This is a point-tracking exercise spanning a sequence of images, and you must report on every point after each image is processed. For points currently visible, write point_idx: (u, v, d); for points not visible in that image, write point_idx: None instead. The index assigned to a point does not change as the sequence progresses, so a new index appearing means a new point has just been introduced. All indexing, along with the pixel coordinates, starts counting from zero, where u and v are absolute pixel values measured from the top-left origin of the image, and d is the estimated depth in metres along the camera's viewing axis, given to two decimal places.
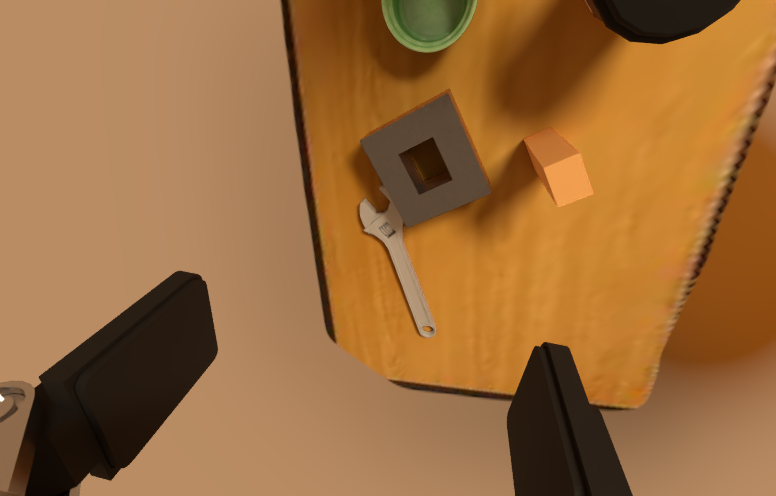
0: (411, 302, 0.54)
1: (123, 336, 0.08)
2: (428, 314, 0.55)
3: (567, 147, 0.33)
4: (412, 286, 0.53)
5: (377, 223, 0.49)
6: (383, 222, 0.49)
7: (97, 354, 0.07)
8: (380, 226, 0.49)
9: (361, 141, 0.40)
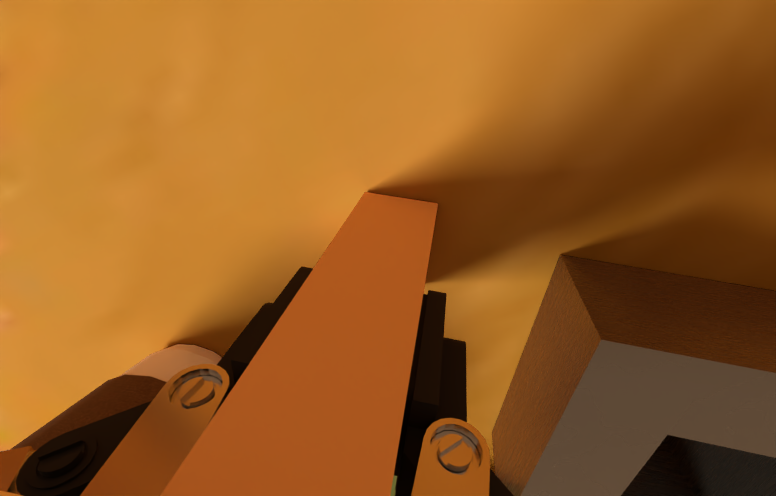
0: None
1: None
2: None
3: None
4: None
5: None
6: None
7: None
8: None
9: None
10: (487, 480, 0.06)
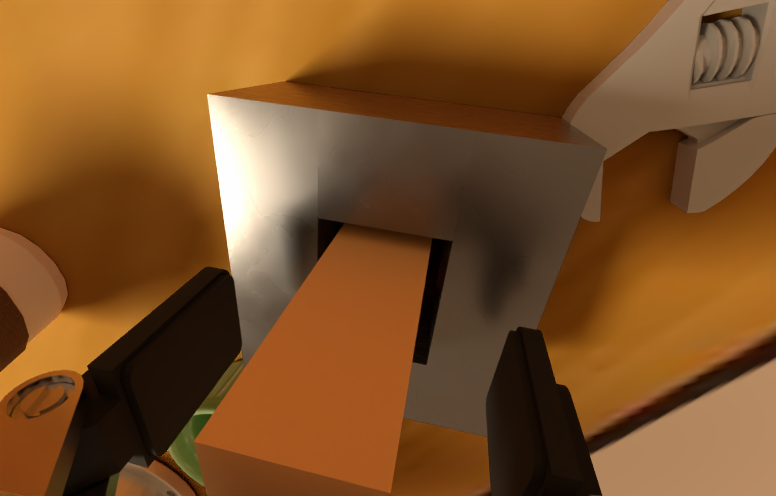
0: None
1: (162, 328, 0.08)
2: None
3: None
4: None
5: (730, 105, 0.11)
6: (704, 95, 0.11)
7: (140, 345, 0.08)
8: (733, 83, 0.11)
9: None
10: None
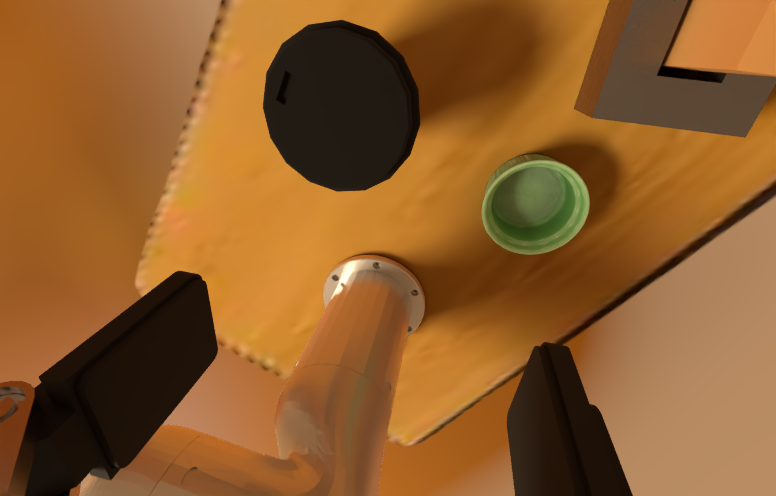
0: None
1: (123, 336, 0.08)
2: None
3: (714, 69, 0.21)
4: None
5: None
6: None
7: (97, 354, 0.07)
8: None
9: (743, 135, 0.26)
10: None
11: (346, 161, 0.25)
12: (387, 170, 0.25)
